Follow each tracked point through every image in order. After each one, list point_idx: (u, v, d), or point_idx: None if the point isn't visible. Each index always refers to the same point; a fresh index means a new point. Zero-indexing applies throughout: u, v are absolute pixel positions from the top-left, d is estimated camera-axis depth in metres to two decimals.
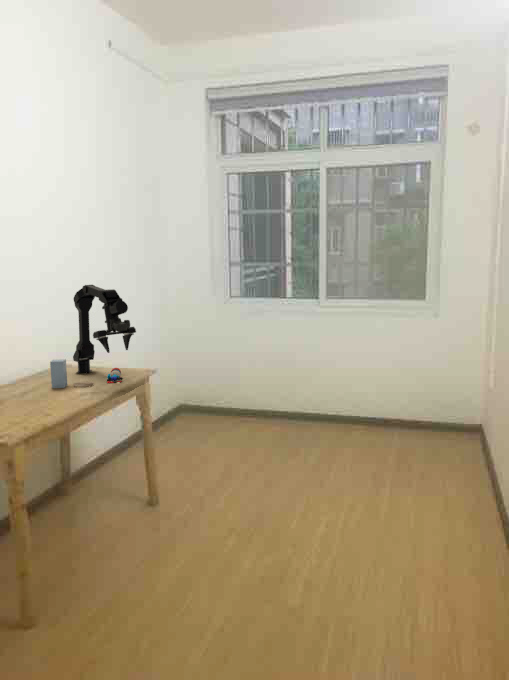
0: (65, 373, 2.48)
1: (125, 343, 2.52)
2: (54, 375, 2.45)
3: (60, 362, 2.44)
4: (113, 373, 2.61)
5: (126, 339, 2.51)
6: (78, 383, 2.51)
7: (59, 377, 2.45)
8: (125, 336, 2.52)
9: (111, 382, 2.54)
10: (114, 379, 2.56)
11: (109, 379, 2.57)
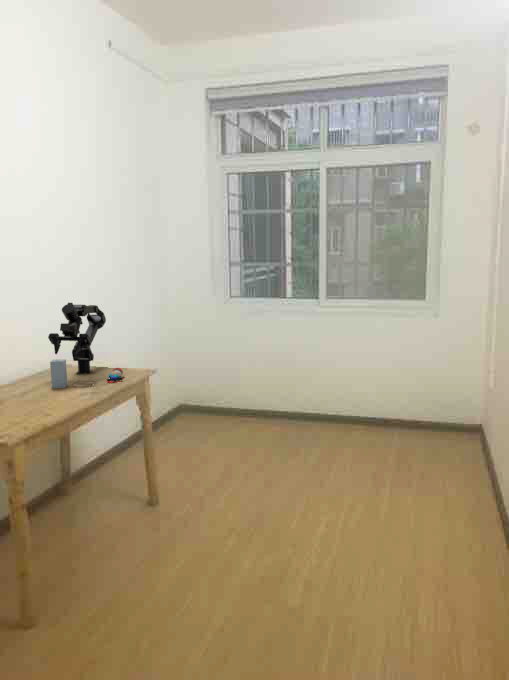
0: (65, 373, 2.48)
1: None
2: (54, 375, 2.45)
3: (60, 362, 2.44)
4: (114, 373, 2.61)
5: None
6: (78, 383, 2.51)
7: (59, 377, 2.45)
8: None
9: (111, 382, 2.54)
10: (114, 379, 2.56)
11: (109, 379, 2.57)
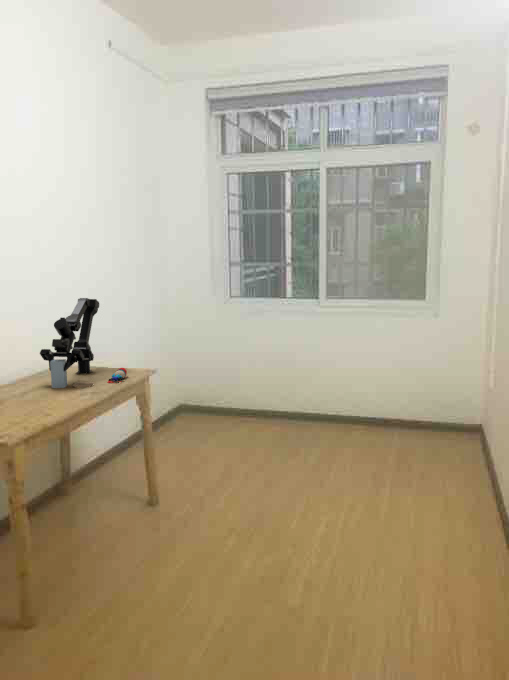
0: (65, 373, 2.48)
1: None
2: (54, 375, 2.45)
3: (60, 362, 2.44)
4: (117, 373, 2.61)
5: None
6: (78, 383, 2.51)
7: (59, 377, 2.45)
8: None
9: (111, 382, 2.54)
10: (115, 379, 2.56)
11: (110, 379, 2.57)
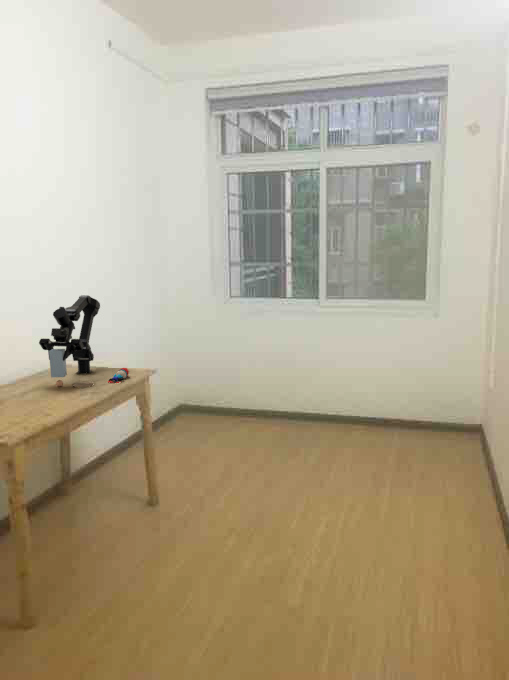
0: (64, 362, 2.47)
1: None
2: (53, 364, 2.44)
3: (59, 351, 2.43)
4: (118, 373, 2.61)
5: None
6: (78, 383, 2.51)
7: (58, 366, 2.44)
8: None
9: (110, 382, 2.54)
10: (115, 379, 2.56)
11: (111, 379, 2.57)
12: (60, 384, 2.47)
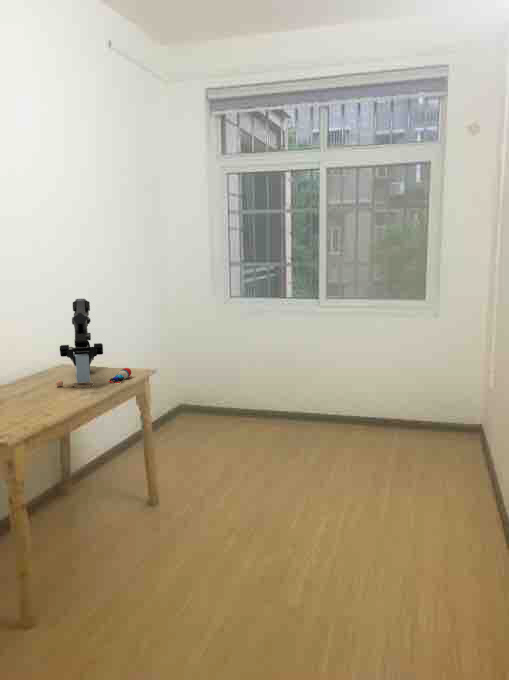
0: None
1: (89, 359, 2.51)
2: (80, 370, 2.47)
3: (86, 356, 2.47)
4: (119, 373, 2.61)
5: (89, 355, 2.51)
6: (78, 383, 2.51)
7: (85, 371, 2.48)
8: None
9: (110, 382, 2.54)
10: (115, 379, 2.56)
11: (112, 379, 2.58)
12: (60, 384, 2.47)
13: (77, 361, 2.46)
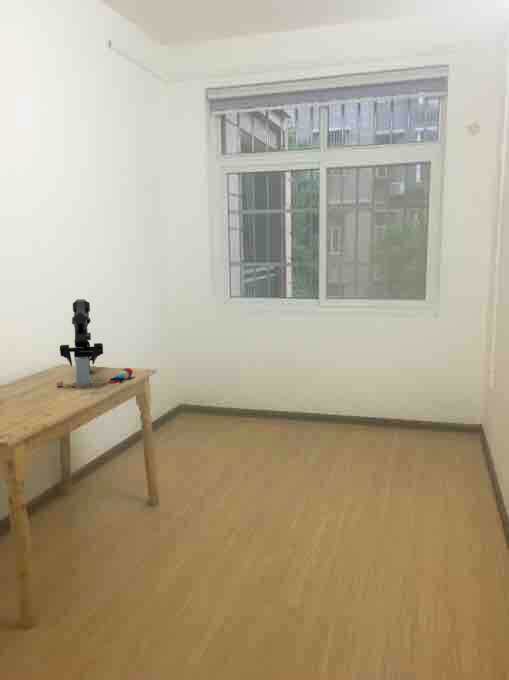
0: None
1: (92, 359, 2.52)
2: (79, 372, 2.47)
3: (86, 359, 2.47)
4: (120, 373, 2.60)
5: (93, 354, 2.52)
6: None
7: (85, 374, 2.48)
8: None
9: (110, 382, 2.54)
10: (115, 379, 2.56)
11: (112, 378, 2.58)
12: (60, 384, 2.47)
13: (77, 364, 2.46)
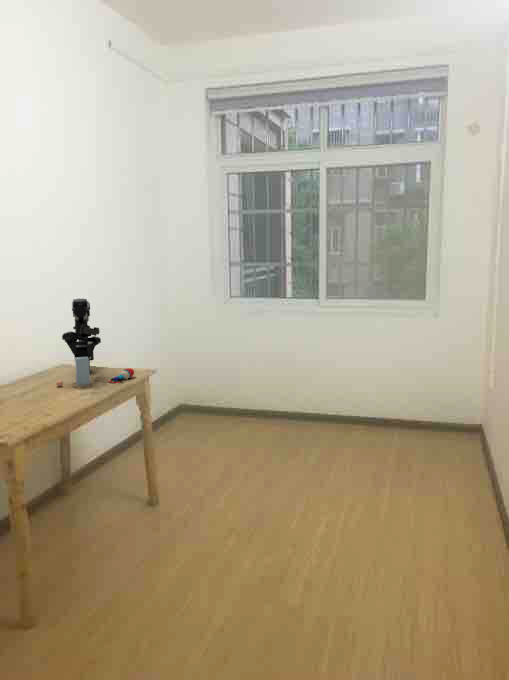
0: None
1: (89, 351, 2.63)
2: (79, 372, 2.47)
3: (86, 359, 2.47)
4: (121, 373, 2.60)
5: (91, 347, 2.63)
6: None
7: (85, 374, 2.48)
8: (90, 344, 2.64)
9: None
10: (115, 379, 2.56)
11: (112, 378, 2.58)
12: (60, 384, 2.47)
13: (77, 364, 2.46)
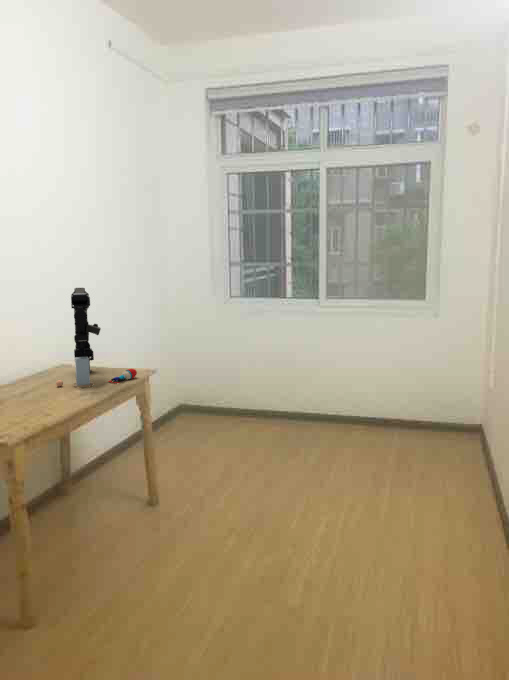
0: None
1: None
2: (79, 372, 2.47)
3: (86, 359, 2.47)
4: (122, 373, 2.60)
5: None
6: None
7: (85, 374, 2.48)
8: None
9: None
10: (115, 379, 2.56)
11: None
12: (60, 384, 2.47)
13: (77, 364, 2.46)
